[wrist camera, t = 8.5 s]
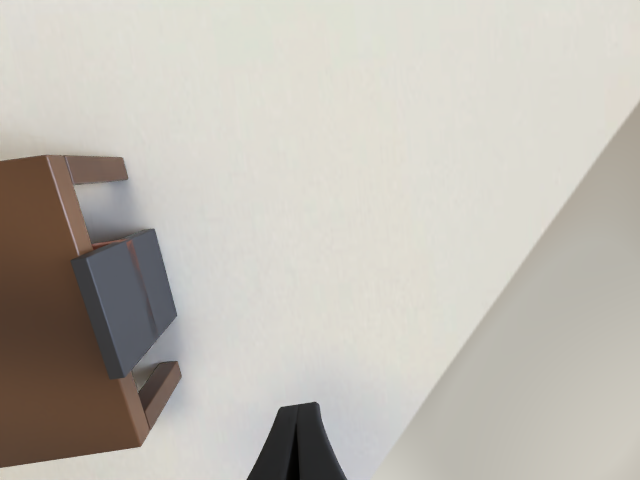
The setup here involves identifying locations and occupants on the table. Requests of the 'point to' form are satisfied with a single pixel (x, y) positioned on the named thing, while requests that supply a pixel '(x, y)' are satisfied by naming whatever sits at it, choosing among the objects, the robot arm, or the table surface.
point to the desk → (59, 324)
